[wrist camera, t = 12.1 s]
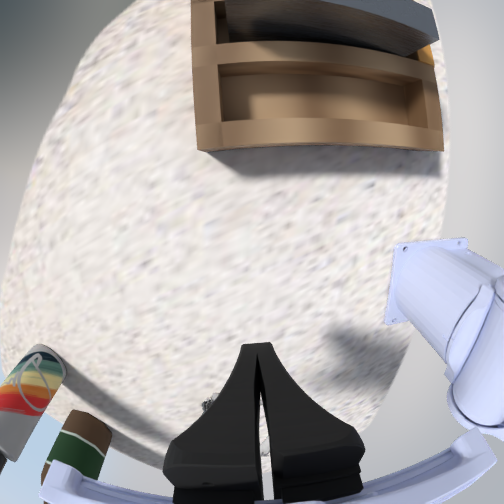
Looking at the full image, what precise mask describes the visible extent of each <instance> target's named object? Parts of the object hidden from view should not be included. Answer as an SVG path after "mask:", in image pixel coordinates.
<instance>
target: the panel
mask: <svg viewBox="0 0 504 504" xmlns="http://www.w3.org/2000/svg"><path fill="white" fill-rule="evenodd" d="M225 9H226V17H227V25H228V33H229V42H230V43H236V42H253V41H300V42H316V43H327V44H337V45H344V46H352V47H358V48H364V49H369V50H375V51H380V52H384V53H389V54H393V55H397V56H401V57H406V56H408V55H410V54H412V53H414V52H415V51H417V50H419V49H421V48H423V47H425V46H427V45H429V44H432V43H434V42H436V41H438V40H439V35H438V31H437V27H436V23H435V20H434V16H433V12H432V9H430V8H428V7H426V6H423V5H421V4H419V3H417V2H415V1H413V0H225Z"/></svg>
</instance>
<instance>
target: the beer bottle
mask: <svg viewBox="0 0 504 504" xmlns="http://www.w3.org/2000/svg"><path fill="white" fill-rule="evenodd" d="M111 438H112V433H111V432H110V431H109V429H108V428H107V427H106V425H105V424H104V423H103V422H101V421H100V420H98V419H97V418H95V417H93V416H92V415H90V414H89V413H86V412H82V411H78V410H72V411H71V413H70V414H69V416H68V418H67V419H66V421H65V423H64V425H63V427H62V429H61V431H60V433H59V435H58V437H57V439H56V441H55V443H54V445H53V447H52V449H51V451H50V454H49V456H48V458H47V460H46V462H45V465H44V468H43V471H42V474H41V486H42V485H43V482H44V480H45V477H46V475H47V473H48V470H49V468H50V466H51V464H52V461H53V460H57V461H59V462H62V463H64V464H67V465H69V466H72V467H73V468H75V469H77V470H78V471H79V472H80V473H81V474H82V475H83V476H85V477H88V478H91V479H94V480H98V477H99V474H100V471H101V467H102V465H103V462H104V459H105V456H106V453H107V451H108V448H109V445H110V442H111ZM44 504H49V503H47V502H46V501H44Z"/></svg>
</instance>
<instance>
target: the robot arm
mask: <svg viewBox="0 0 504 504" xmlns="http://www.w3.org/2000/svg"><path fill="white" fill-rule="evenodd" d="M458 242H459V243H458ZM404 247H406V248H405V250H404V251H403V248H404ZM467 247H468V239H467V238H465V237H462V238H451V239H439V240H428V241H416V242H405V243H398V244H396V245H395V247H394V255H393V264H392V273H391V281H390V288H389V295H388V301H387V307H386V313H385V318H384V322H385V324H386V325H392V324H396V323H401V322H405V321H410V322H411V323H412V324H413V325H414V327H415V328H416V329H417V330H418V331H419V332H420V333H421V334H422V336H423V337H424V338H425V339H426V340H427V341H428V343H429V344H430V345H431V346H432V347H433V348H434V350H435V351H436V352H437V353H438V354H439V356H440V357H441V358H442V359H443V360H444V362H445V363H446V364H447V368H446V371H445V373H444V374H445V376H446V377H447V379H448V380H449V381H450V382H451V385H450V386H449V389H448V392H447V402H448V406H449V409H450V411H451V413H452V415H453V416H454V418H455V419H456V420H457V421H458V422H459V423H460V424H461V425H462V426H464V427H465V428H466V429H468V430H470V431H468V432H466V433H465V434H463V435H461V436H460V437H458V438H457V439H456V440H455V441H454V442H453V443H452V445H451V446H450V447H449V448H448V449H446V450H444V451H442V452H440V453H438V454H436V455H434V456H432V457H430V458H428V459H426V460H424V461H421V462H419V463H417V464H415V465H412V466H410V467H407V468H405V469H402V470H400V471H397V472H395V473H392V474H389V475H386V476H383V477H380V478H377V479H374V480H371V481H368V482H365V483H362V481H361V478H360V474H359V473H360V472H361V469H360V466H359V462H360V460H361V458H362V457H363V455H364V453H365V447H364V443H363V441H362V439H361V438H360V436H359V434H358V433H357V431H356V430H355V428H354V427H353V426H351V425H349V424H347V423H345V422H343V421H341V420H340V419H338V418H336V417H335V416H333V415H332V414H330V413H329V412H327V411H326V410H325V409H323V408H322V407H321V406H320V405H318V404H317V403H316V402H315V401H313V400H312V399H311V398H310V397H309V396H308V395H307V394H306V393H305V392H304V391H303V390H302V389H301V388H300V387H299V386H298V385H297V383H296V382H295V381H294V380H293V379H292V377H291V376H290V375H289V373H288V372H287V371H286V369H285V368H284V366H283V365H282V363H281V362H280V360H279V358H278V356H277V355H276V353H275V351H274V348H273V346H272V344H271V343H270V342H265V343H253V344H243V345H242V346H241V350H240V354H239V357H238V359H237V362H236V364H235V366H234V369H233V371H232V373H231V375H230V377H229V379H228V380H227V382H226V384H225V386H224V387H223V389H222V390H221V392H220V393H219V395H218V396H217V398H216V399H215V400H214V402H213V403H212V404H211V405H210V407H209V408H208V409H207V410H206V411H205V412H204V414H203V415H202V416H201V417H200V418H199V419H198V420H197V421H195V422H194V423H193V424H192V425H191V426H190V427H189V428H188V429H187V430H185V431H184V432H183V433H182V434H180V435H179V436H178V437H176V438H175V439H174V440H172V441H171V443H170V446H169V448H168V450H167V453H166V456H165V460H164V466H163V474H164V475H165V476H166V478H167V479H168V480H169V481H170V482H171V483H172V484H173V485H174V486H175V487H174V494H173V497H166V496H160V495H154V494H149V493H144V492H139V491H134V490H130V489H125V488H122V487H118V486H114V485H111V484H107V483H104V482H100V481H97V480H94V479H91V478H88V477H85V476H83V475H82V474H81V473H80V472H79V471H78V470H77V469H75V468H73V467H72V466H69V465H67V464H64V463H62V462H59V461H57V460H53V461H52V464H51V466H50V468H49V470H48V473H47V475H46V477H45V480H44V482H43V485H42V487H41V490H40V492H39V497H40V498H41V499H43V500H44V501H46V502H47V503H49V504H441V503H442V502H444V501H446V500H448V499H449V498H451V497H453V496H454V495H456V494H458V493H459V492H461V491H462V490H464V489H465V488H467V487H468V486H470V485H471V484H472V483H474V482H475V481H476V480H477V479H479V478H480V477H481V476H482V475H483V474H484V473H486V472H487V471H488V470H489V469H490V468H491V467H492V466H493V465H494V464H495V463H496V462H497V458H496V456H495V455H494V453H493V451H492V450H491V448H490V446H489V445H488V443H487V442H486V440H485V438H484V437H483V435H482V434H481V433H483V434H489V435H493V436H495V437H497V438H499V439H500V440H502V441H503V442H504V269H503V268H501V267H500V266H498V265H497V264H495V263H493V262H491V261H489V260H487V259H486V258H484V257H482V256H480V255H478V254H477V253H475V252H473V251H471V250H469V249H467ZM393 318H395V319H394V320H393ZM260 392H261V397H262V402H263V407H264V412H265V417H266V422H267V428H268V434H269V445H270V456H271V468H272V479H273V491H274V500H264V495H263V482H262V469H261V455H260V441H259V418H260Z"/></svg>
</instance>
